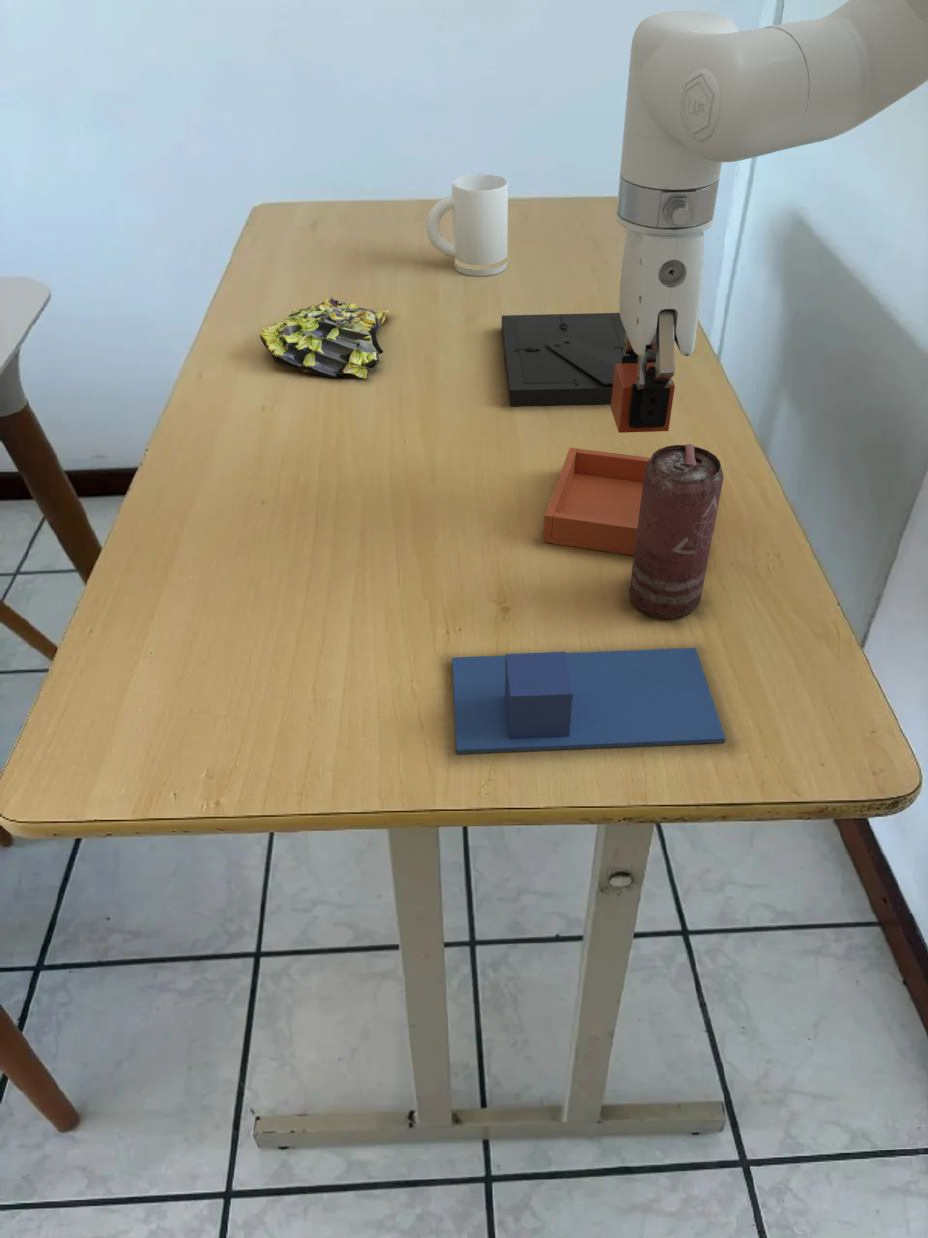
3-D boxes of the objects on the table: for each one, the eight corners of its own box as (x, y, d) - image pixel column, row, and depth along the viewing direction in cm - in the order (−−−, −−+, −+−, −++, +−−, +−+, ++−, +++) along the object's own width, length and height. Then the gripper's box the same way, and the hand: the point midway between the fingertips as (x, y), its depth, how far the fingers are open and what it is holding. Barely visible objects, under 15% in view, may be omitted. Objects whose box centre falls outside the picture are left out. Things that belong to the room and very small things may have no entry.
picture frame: (645, 403, 111) (620, 327, 127) (648, 380, 109) (622, 306, 125) (509, 406, 111) (501, 330, 127) (510, 383, 109) (501, 309, 125)
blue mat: (694, 652, 79) (695, 647, 78) (724, 743, 71) (726, 738, 71) (452, 661, 78) (451, 657, 78) (456, 754, 71) (456, 749, 70)
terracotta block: (658, 406, 89) (664, 361, 86) (668, 431, 85) (675, 385, 82) (610, 408, 89) (614, 363, 86) (618, 433, 85) (623, 386, 82)
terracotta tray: (710, 492, 97) (715, 465, 95) (699, 565, 88) (704, 538, 86) (568, 473, 100) (569, 447, 98) (543, 542, 91) (544, 515, 89)
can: (696, 577, 86) (720, 440, 77) (702, 623, 81) (729, 483, 72) (627, 574, 87) (644, 438, 78) (630, 619, 82) (648, 480, 73)
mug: (427, 258, 147) (423, 175, 139) (504, 255, 147) (505, 172, 140) (429, 278, 141) (425, 193, 133) (509, 275, 141) (510, 189, 133)
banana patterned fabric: (311, 311, 134) (321, 266, 131) (416, 357, 133) (429, 312, 129) (239, 349, 118) (247, 299, 114) (358, 402, 116) (370, 352, 113)
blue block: (562, 693, 75) (565, 651, 72) (569, 736, 71) (573, 693, 68) (504, 696, 75) (505, 653, 72) (509, 739, 71) (510, 696, 68)
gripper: (742, 237, 68) (703, 459, 80) (690, 166, 81) (663, 367, 93) (637, 240, 68) (614, 462, 80) (601, 169, 81) (586, 369, 93)
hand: (641, 409), depth 86 cm, fingers closed on terracotta block, 4 cm apart
